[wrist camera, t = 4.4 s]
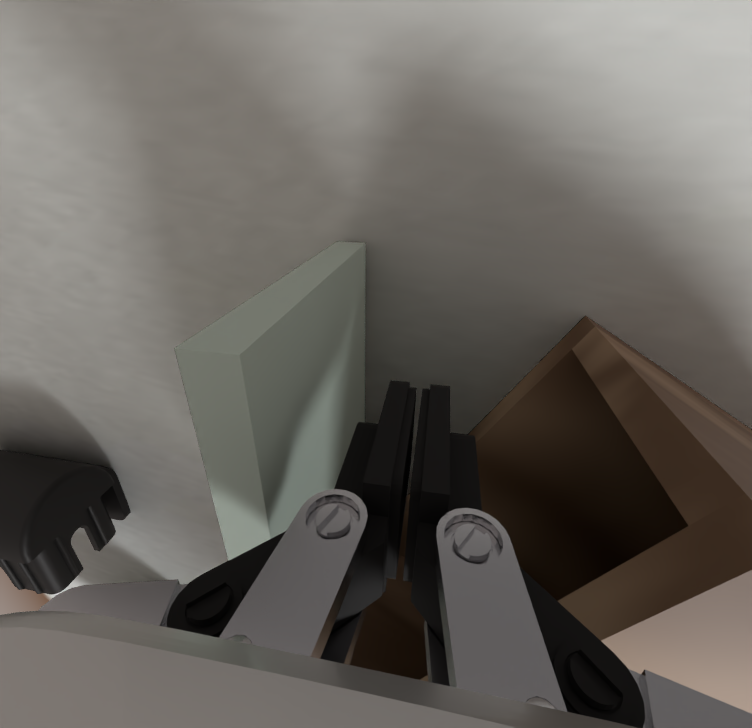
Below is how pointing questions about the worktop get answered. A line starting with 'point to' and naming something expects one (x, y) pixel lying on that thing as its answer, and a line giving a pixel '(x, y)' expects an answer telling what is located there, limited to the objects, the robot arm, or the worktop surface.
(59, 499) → the end cap
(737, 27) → the worktop surface
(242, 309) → the door
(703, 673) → the cabinet
